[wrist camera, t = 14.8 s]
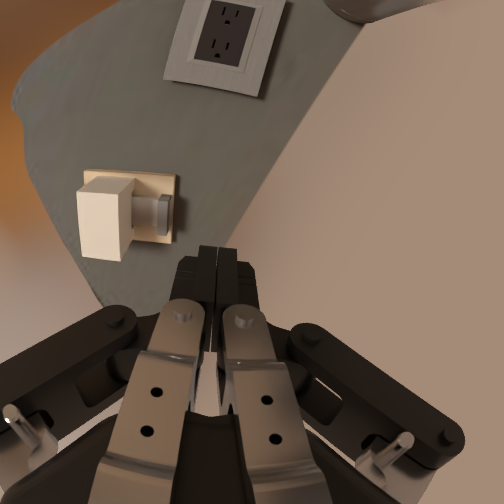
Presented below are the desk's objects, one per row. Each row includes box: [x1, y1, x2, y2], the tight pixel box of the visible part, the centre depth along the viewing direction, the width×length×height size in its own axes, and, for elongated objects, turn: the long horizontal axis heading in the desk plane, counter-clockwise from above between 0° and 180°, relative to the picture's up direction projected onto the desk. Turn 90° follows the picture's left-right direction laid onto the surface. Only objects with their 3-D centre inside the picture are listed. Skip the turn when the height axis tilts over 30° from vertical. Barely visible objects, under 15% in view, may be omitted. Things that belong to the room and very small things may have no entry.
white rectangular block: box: [77, 175, 135, 261], centre depth 33 cm, size 8×5×6 cm, turn 171°
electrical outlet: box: [163, 0, 286, 97], centre depth 26 cm, size 13×10×2 cm
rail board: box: [84, 169, 176, 244], centre depth 35 cm, size 9×12×3 cm
